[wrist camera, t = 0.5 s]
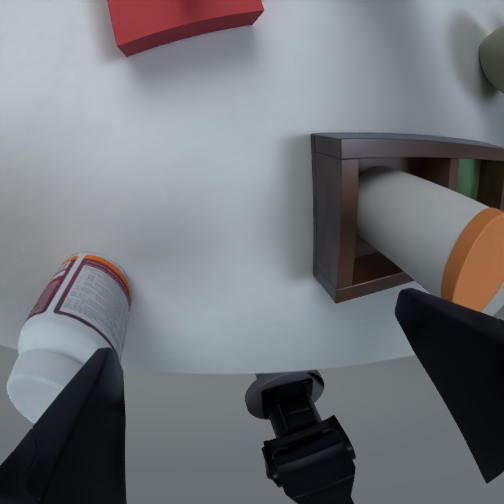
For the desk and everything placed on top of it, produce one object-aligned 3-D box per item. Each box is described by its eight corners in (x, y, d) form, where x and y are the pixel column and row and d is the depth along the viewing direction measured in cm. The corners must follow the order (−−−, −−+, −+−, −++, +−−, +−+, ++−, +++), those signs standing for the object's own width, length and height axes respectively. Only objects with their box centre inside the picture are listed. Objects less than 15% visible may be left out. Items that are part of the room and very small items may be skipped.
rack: (470, 236, 26) (495, 251, 22) (312, 275, 23) (335, 303, 19) (481, 141, 21) (511, 150, 18) (310, 133, 18) (340, 138, 14)
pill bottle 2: (403, 234, 23) (497, 302, 13) (343, 246, 22) (438, 336, 12) (410, 163, 20) (524, 209, 10) (345, 166, 19) (471, 221, 9)
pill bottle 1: (68, 317, 20) (28, 434, 10) (51, 249, 17) (-24, 359, 7) (137, 320, 21) (126, 449, 11) (129, 248, 19) (91, 377, 9)
